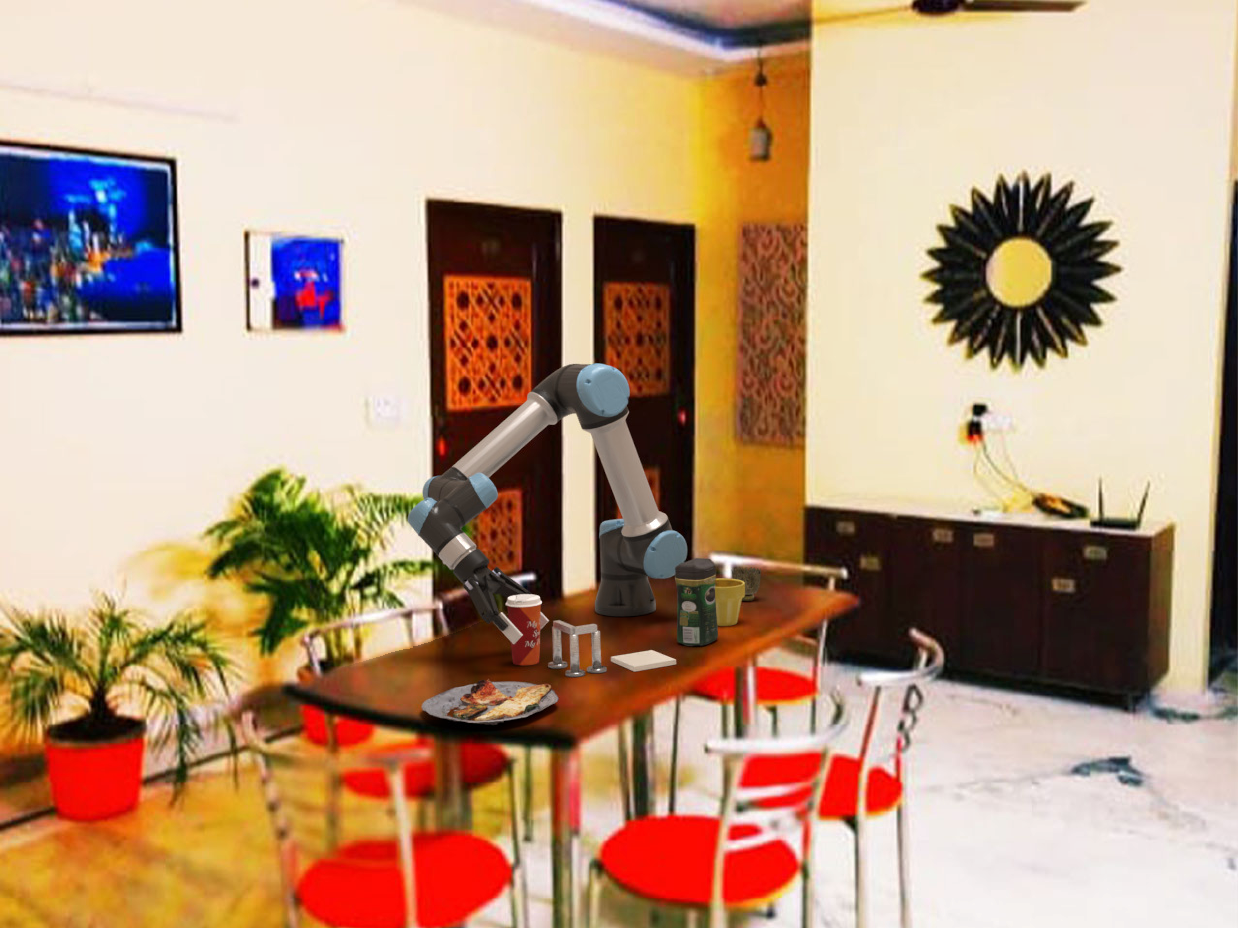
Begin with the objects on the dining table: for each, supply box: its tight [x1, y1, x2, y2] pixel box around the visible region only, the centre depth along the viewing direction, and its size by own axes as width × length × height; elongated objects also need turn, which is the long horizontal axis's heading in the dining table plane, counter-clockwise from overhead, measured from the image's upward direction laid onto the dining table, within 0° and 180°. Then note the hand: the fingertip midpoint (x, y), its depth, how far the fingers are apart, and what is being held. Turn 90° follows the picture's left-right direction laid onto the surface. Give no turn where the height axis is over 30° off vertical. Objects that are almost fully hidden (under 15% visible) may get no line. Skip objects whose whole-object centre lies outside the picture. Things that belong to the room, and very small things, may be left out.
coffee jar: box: [674, 557, 719, 647], centre depth 288 cm, size 10×8×19 cm
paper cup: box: [505, 593, 543, 667], centre depth 275 cm, size 8×8×14 cm
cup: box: [731, 566, 762, 602], centre depth 331 cm, size 8×7×8 cm
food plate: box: [421, 678, 560, 726], centre depth 241 cm, size 25×23×4 cm
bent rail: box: [547, 619, 607, 678], centre depth 268 cm, size 12×9×10 cm
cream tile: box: [610, 649, 677, 672], centre depth 272 cm, size 10×10×1 cm
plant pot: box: [715, 578, 745, 627], centre depth 306 cm, size 10×10×10 cm
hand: (531, 632), depth 274 cm, fingers open, 13 cm apart
